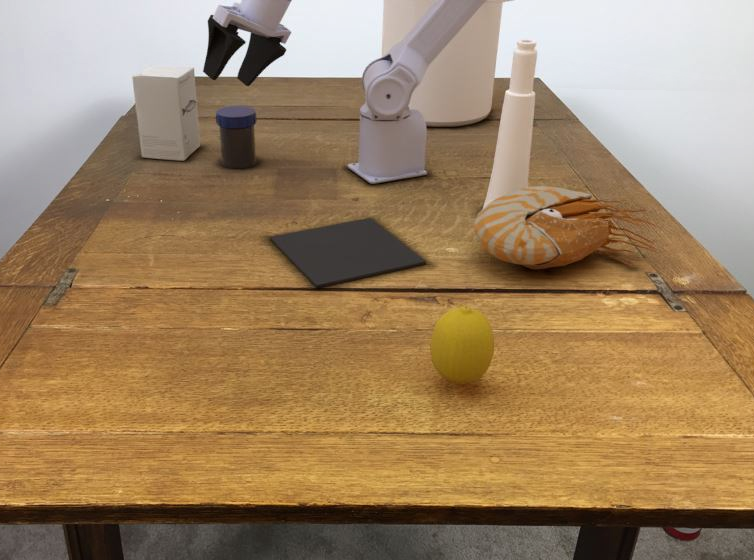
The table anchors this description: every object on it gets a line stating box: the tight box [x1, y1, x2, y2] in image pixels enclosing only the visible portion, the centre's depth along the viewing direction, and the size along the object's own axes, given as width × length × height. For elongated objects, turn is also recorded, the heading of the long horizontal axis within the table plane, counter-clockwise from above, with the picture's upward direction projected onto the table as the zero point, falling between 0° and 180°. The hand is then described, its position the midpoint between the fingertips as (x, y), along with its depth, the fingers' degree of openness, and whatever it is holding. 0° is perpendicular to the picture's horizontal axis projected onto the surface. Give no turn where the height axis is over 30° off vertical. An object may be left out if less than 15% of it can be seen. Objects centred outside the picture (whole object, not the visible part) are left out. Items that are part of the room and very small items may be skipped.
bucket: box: [381, 0, 514, 128], centre depth 138 cm, size 26×22×25 cm
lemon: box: [429, 305, 495, 386], centre depth 69 cm, size 6×6×8 cm
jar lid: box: [215, 105, 258, 129], centre depth 117 cm, size 6×6×2 cm
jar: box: [218, 125, 257, 169], centre depth 119 cm, size 5×5×7 cm
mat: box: [269, 217, 427, 289], centre depth 94 cm, size 14×14×1 cm
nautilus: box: [473, 185, 661, 270], centre depth 91 cm, size 8×22×15 cm
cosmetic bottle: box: [482, 39, 538, 210], centre depth 98 cm, size 6×6×22 cm
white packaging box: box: [131, 64, 201, 162], centre depth 121 cm, size 7×7×13 cm
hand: (226, 79), depth 110 cm, fingers open, 7 cm apart
